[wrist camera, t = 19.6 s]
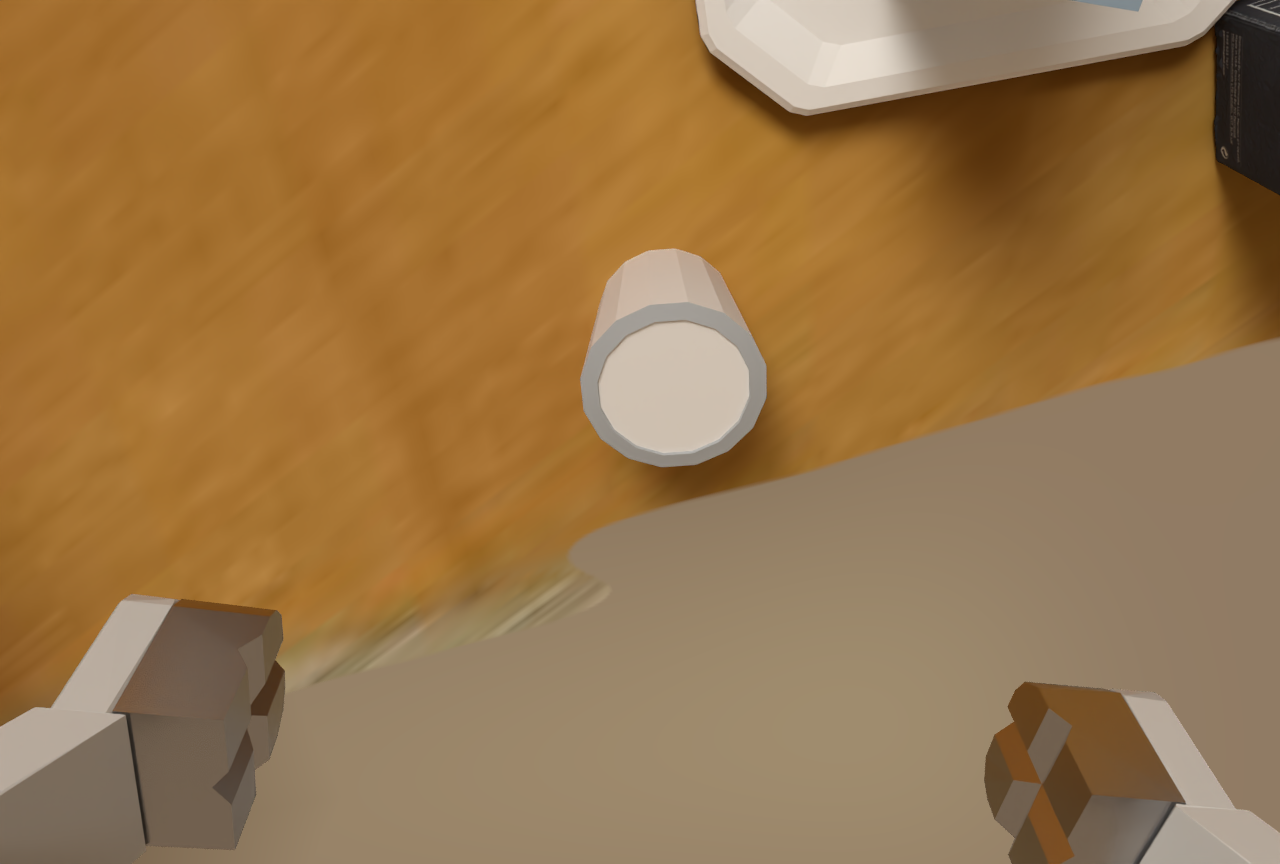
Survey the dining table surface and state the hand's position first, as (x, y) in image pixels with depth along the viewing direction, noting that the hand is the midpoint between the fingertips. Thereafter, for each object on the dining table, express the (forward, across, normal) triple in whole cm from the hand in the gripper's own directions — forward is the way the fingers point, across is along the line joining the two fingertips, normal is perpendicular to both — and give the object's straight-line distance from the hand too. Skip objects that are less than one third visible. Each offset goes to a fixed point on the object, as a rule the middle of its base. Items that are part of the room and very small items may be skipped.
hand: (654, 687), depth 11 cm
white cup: (+31, +3, -9) cm, 33 cm away
